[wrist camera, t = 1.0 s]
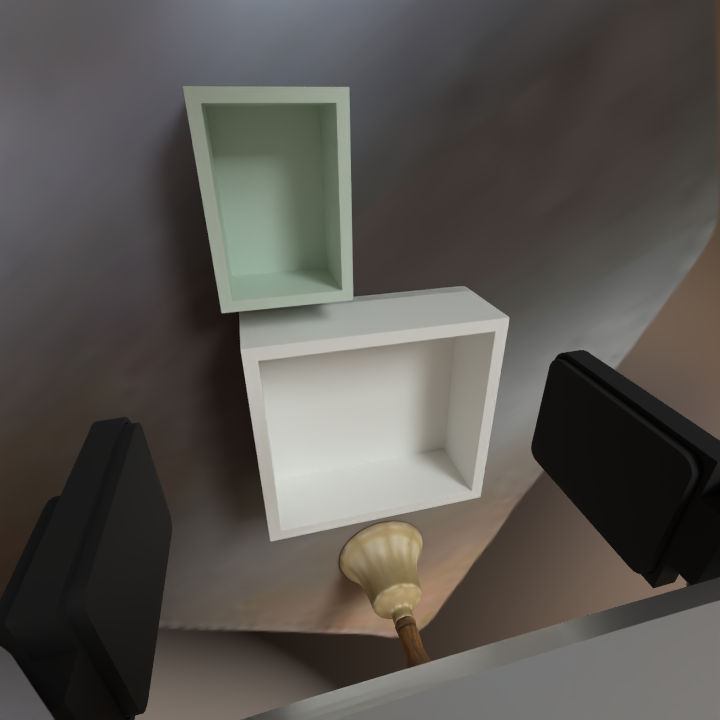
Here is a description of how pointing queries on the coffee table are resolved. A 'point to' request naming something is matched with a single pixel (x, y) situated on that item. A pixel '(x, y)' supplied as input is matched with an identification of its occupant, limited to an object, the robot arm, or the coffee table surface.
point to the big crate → (371, 404)
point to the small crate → (275, 192)
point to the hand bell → (389, 578)
